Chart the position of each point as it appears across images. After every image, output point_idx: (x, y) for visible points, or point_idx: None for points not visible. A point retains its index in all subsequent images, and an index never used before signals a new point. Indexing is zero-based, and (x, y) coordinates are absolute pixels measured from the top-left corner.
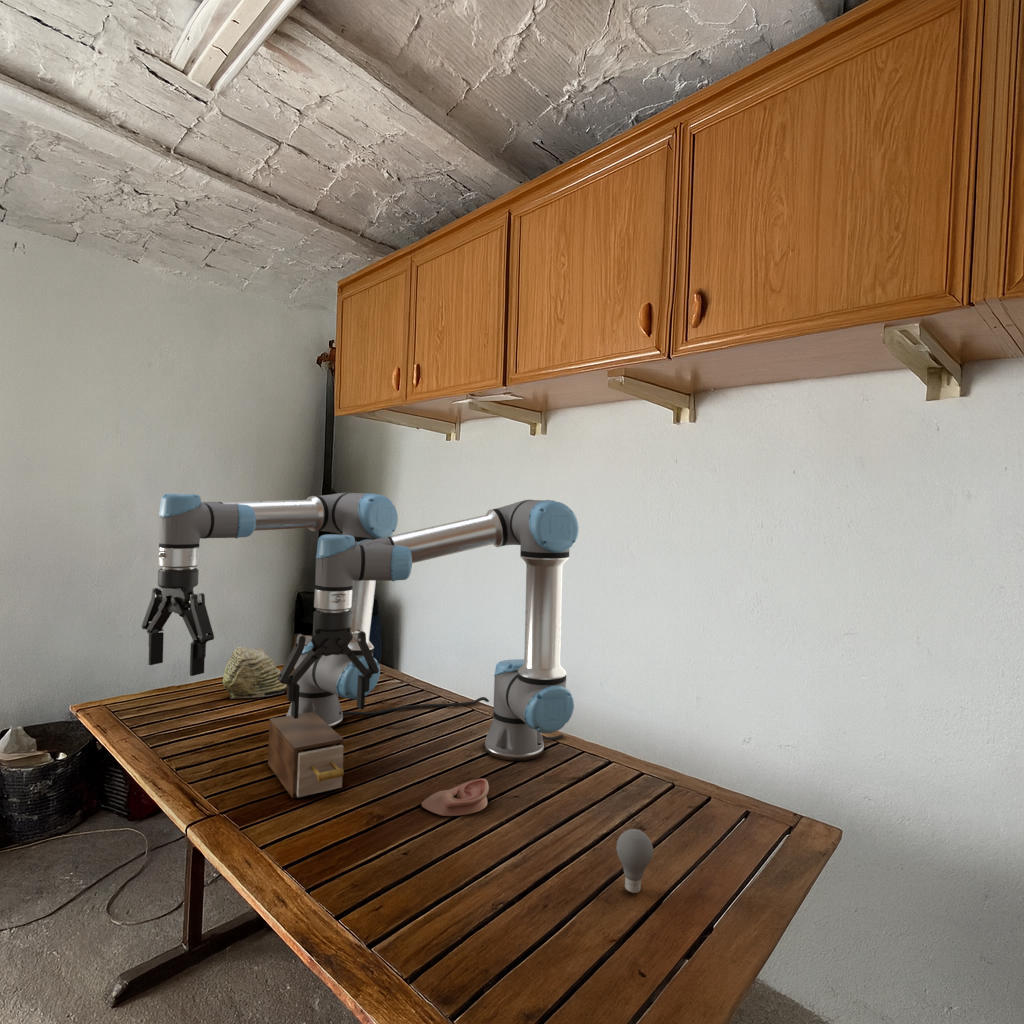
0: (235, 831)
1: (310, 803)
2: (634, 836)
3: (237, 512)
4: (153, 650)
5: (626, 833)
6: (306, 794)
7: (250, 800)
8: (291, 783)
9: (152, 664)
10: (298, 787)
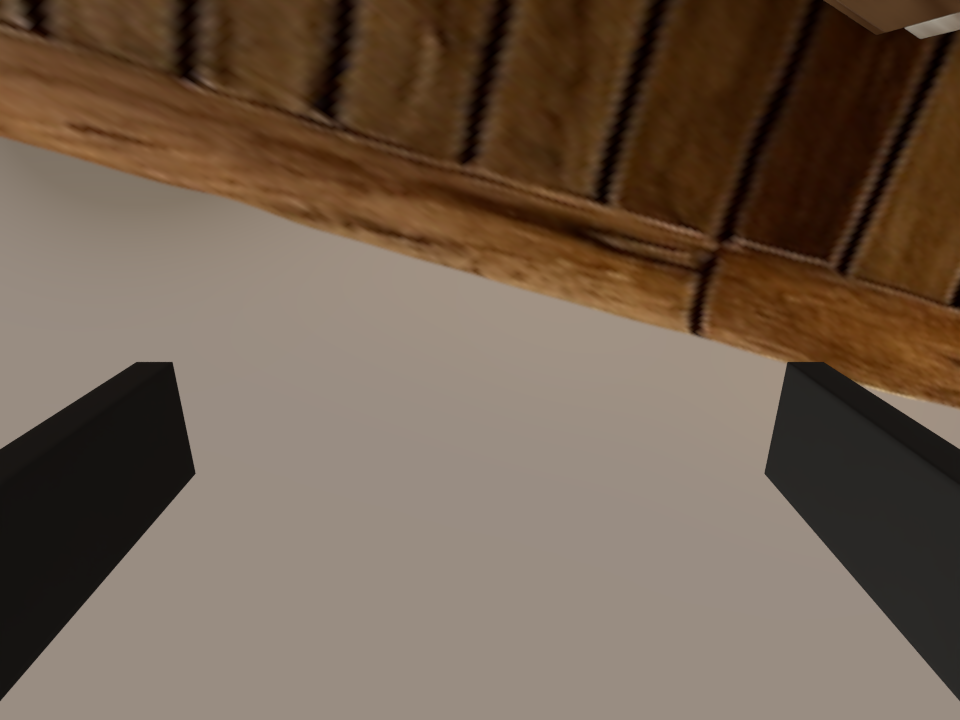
0: (836, 286)
1: None
2: None
3: None
4: (106, 542)
5: None
6: None
7: (746, 130)
8: (894, 15)
9: (191, 461)
10: (946, 31)
